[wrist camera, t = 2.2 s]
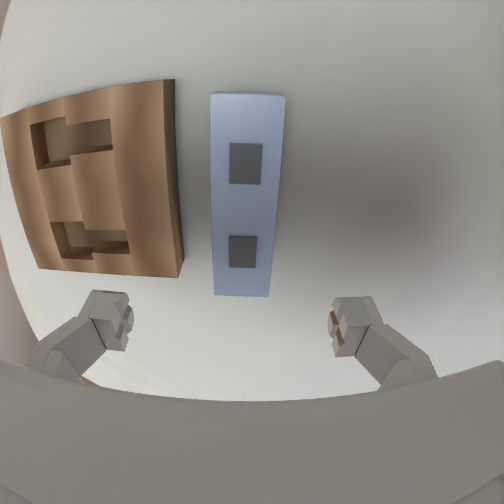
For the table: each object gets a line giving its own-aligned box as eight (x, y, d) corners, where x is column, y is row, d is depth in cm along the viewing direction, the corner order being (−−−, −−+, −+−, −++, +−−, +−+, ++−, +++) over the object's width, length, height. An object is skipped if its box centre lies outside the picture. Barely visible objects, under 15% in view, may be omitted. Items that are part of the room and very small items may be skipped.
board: (174, 79, 18) (163, 79, 15) (184, 257, 27) (178, 278, 24) (20, 111, 17) (-1, 118, 15) (51, 252, 26) (38, 268, 24)
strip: (277, 92, 18) (286, 96, 13) (265, 256, 26) (268, 298, 21) (220, 90, 18) (209, 94, 13) (220, 255, 26) (214, 296, 21)
